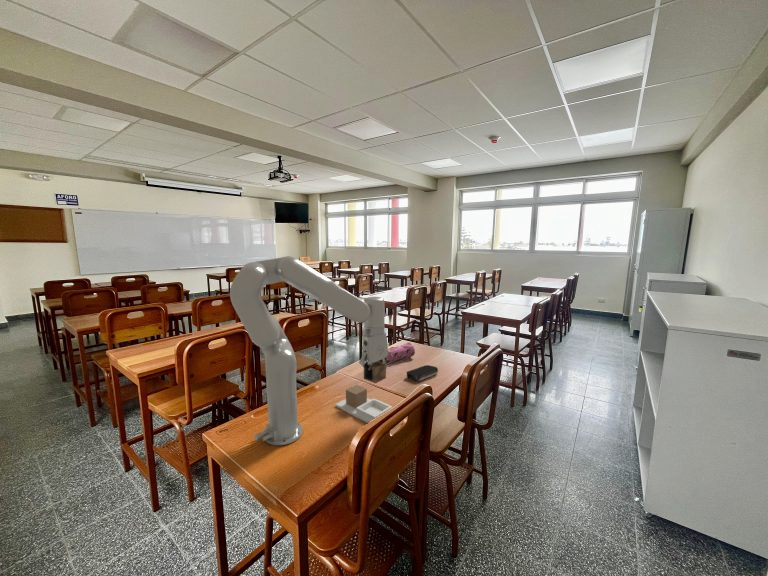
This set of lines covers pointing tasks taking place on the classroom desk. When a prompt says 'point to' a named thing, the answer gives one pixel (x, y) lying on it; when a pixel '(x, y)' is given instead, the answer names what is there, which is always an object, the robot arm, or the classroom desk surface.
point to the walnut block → (377, 371)
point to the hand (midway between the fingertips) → (374, 375)
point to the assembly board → (362, 404)
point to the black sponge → (422, 372)
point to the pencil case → (400, 352)
